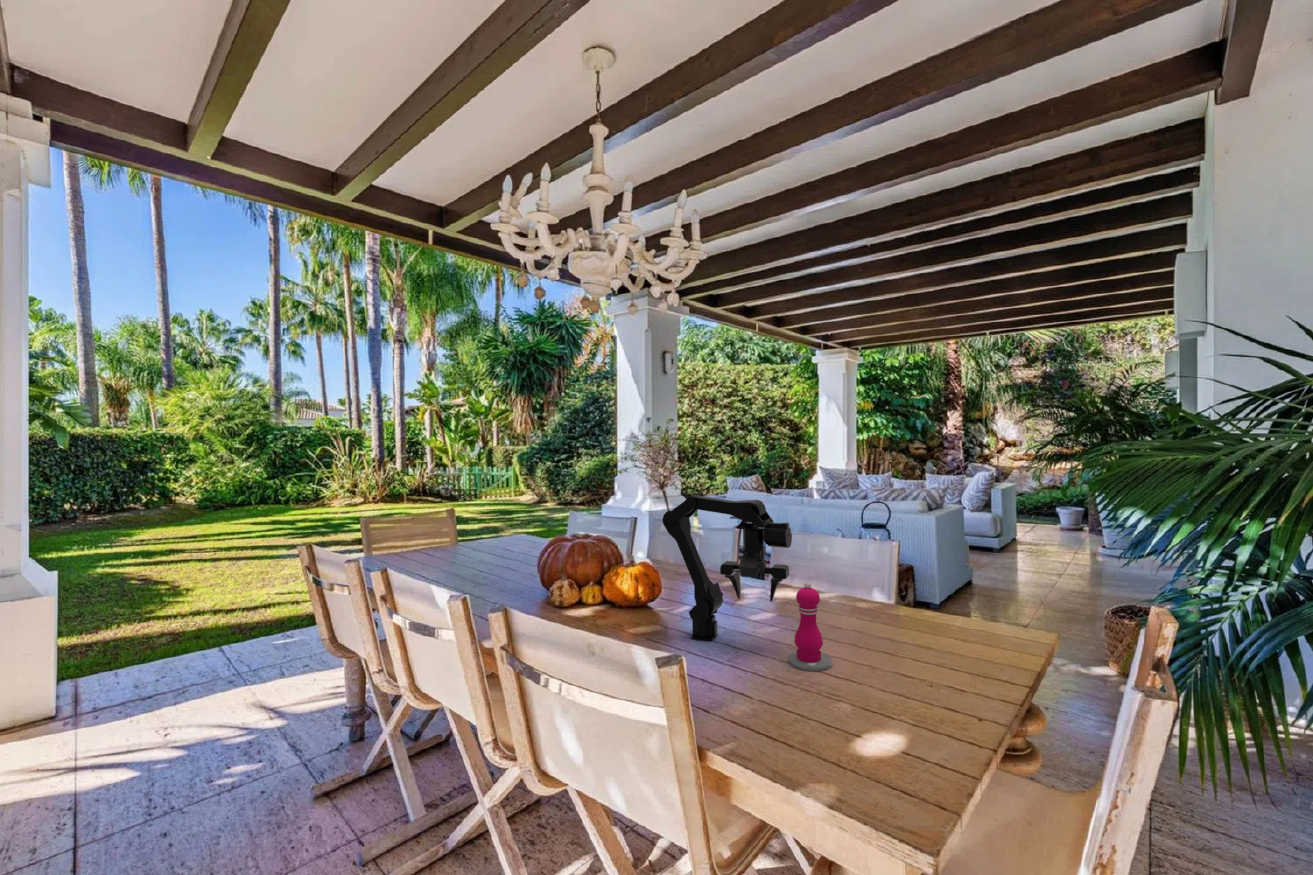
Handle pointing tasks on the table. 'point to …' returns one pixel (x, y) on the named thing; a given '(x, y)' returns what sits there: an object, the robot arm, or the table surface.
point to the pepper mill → (808, 625)
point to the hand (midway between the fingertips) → (755, 600)
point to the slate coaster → (811, 663)
